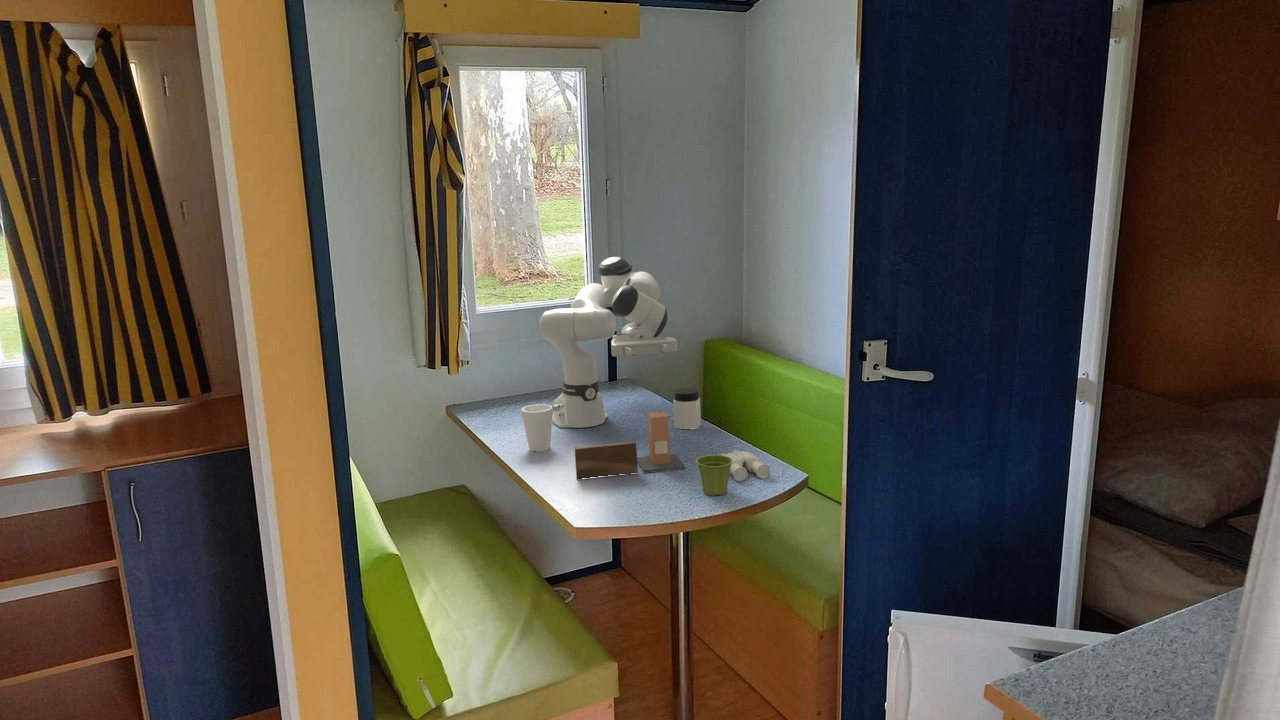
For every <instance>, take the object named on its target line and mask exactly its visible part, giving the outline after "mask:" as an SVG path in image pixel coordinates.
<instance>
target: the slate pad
mask: <svg viewBox="0 0 1280 720" xmlns="http://www.w3.org/2000/svg"><path fill="white" fill-rule="evenodd" d="M638 464H639V465H638ZM637 465H638V467H639V466H640V467H639V468H640V470H641V469H642V470H641V472H642V471H643V472H649V473H653V472H652V471H658V472H666V470H668V471H675V470H684V469H686V468H685V467H686V465H685V464H684V463H683V462H682V460H681V458H680V457H679V456H678V454H677V453H676V452H674V453H670V463H669V464H659V465H653V464H652V462H651V461H650V455H645V456H637ZM643 472H642V473H643Z"/></svg>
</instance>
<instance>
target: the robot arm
mask: <svg viewBox="0 0 1280 720" xmlns="http://www.w3.org/2000/svg"><path fill="white" fill-rule="evenodd" d="M632 268H633V264H630V263H628V261H627V260H626V259H624V257H621V256H612V257H611V256H610V257H607V258H605V259H604V260H602V261H601V263H600V264H599V265H598V275H599V276H600V280H601V283H597V282H593V283H592V282H590V283H588V284H586V285H585V286H583V287H582V288H581V289H580V290H579V291H578V293H577V294H576V296H575V297H574V299H573V300H572V301H571V304H570V307H566V308H564V307H562V308H561V307H560V308H554V309H549V310H545V311H544V312H543V313H542V315H541V316H540V318H539V321H538V327H539V332H540V334H541V336H542V337H543V339H545V340H546V341H548V342H549V343H550V344H552V346H553V347H554V348H555V349H556V351H557V352H558V355H559V356H560V358H561V362H562V368H563V379H564V381H563V382H561V387H562V390H561V392H562V393H561V394H560V395H558V396H557V398H555V400H554V401H553V405H551V406H552V408H553V415H552V424H554V425H555V426H556V427H558V428H561V429H562V428H575V429H576V428H578V429H579V428H580V429H582V428H590V427H596V426H599V425H601V424H603V423H605V421H606V419H608V418H609V417H608V413H605V405H604V398H603V394H602V393H600V382H599V380H598V367H597V360H596V357H595V356H594V354H592V353H591V352H589V351H587V350H584V349H583V348H582V347H581V346H580V344H579V342H599V341H604V340H608V339H611V338H612V339H611V341H610V346H611V347H610V349H611V356H612V357H632V358H634V357H635V358H638V359H639V358H640V359H641V358H646V357H648V356H649V355H651V354H664V353H665V354H666V353H673V352H677V351H678V340H677V339H676V338H674V337H671V336H660V335H661V333H662V332H663V330H664V329H665V328H666V327H665V326H666V325H667V322H668V319H669V318H668V310H667V308H666V306H665V305H663V304H662V303H660V302H658V301H659V299H660V297H661V291H660V286H659V284H658V281H657V279H655V277H654V276H653V275H652V274H650V273H649V272H646V271H637V272H635V271H633V269H632ZM616 317H620V318H621V317H622V318H625V319H626V320H628V321H630V322H629V323H626V324H625V325H624V326H623V328H622V329H621V331H620V333H617V334H615V332H616V330H617V319H616Z"/></svg>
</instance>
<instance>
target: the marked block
mask: <svg viewBox="0 0 1280 720" xmlns="http://www.w3.org/2000/svg"><path fill="white" fill-rule="evenodd" d="M669 417H670V416H669V414H668V412H666V411H657V412H648V413H647V424H648V444H649V446H648V447H649V448H648V449H649V456H650V461H651V462H652V464H653V465H659V464H669V463H670V454H671V447H670V446H671V445H670V444H671V443H670V421H669V420H670V418H669Z"/></svg>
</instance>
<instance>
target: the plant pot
mask: <svg viewBox="0 0 1280 720" xmlns="http://www.w3.org/2000/svg"><path fill="white" fill-rule="evenodd" d="M732 462H733V460H732V459H731V458H730V457H727V456H722V455H720V454H707V455H703V456H699V457H698V458H697V459H696V465H697V466H698V467H697V468H698V469H699V474H700V479H701V485H702V486H701V487H702V491H703V493H704V494H705V495H708V496H717V495H719V496H722V495H725V494H726V493H727V492H728V484H729V478H730V477H729V476H730V474H729V471H730V468H731V464H732Z"/></svg>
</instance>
